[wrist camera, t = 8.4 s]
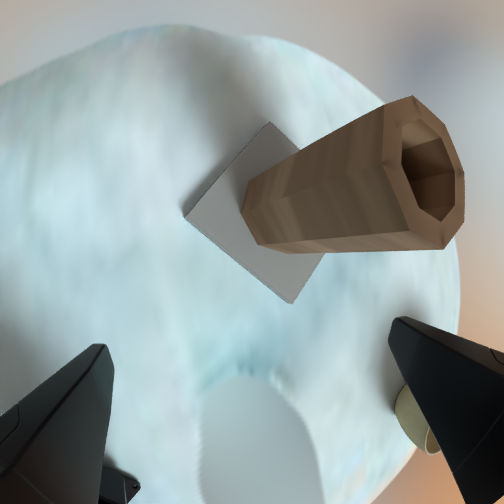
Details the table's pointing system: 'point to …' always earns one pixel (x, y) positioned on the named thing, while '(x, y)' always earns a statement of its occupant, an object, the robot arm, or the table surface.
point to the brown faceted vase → (363, 188)
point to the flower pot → (415, 422)
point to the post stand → (234, 227)
